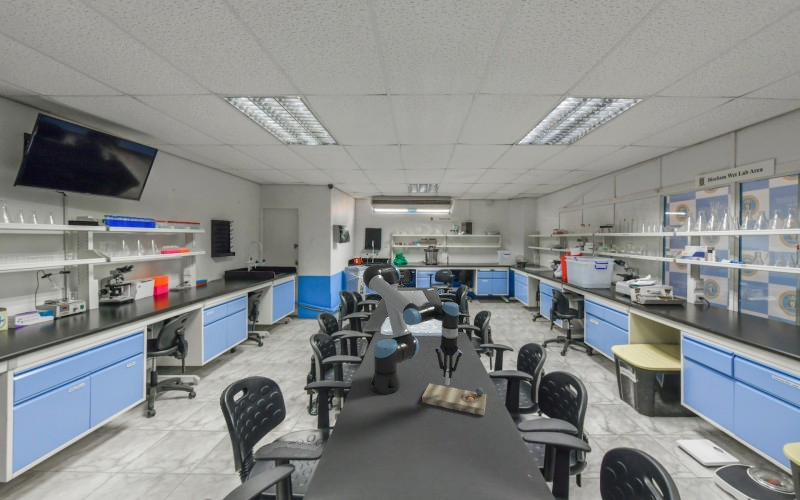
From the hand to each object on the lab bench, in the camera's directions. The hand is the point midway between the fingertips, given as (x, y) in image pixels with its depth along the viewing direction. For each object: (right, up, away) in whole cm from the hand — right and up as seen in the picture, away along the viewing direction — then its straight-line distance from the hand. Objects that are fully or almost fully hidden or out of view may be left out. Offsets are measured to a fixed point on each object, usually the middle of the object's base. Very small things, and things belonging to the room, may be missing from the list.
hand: (447, 383), depth 142 cm
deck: (+3, -8, -1) cm, 9 cm away
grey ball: (+15, -3, -1) cm, 15 cm away
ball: (+10, -6, -4) cm, 13 cm away
